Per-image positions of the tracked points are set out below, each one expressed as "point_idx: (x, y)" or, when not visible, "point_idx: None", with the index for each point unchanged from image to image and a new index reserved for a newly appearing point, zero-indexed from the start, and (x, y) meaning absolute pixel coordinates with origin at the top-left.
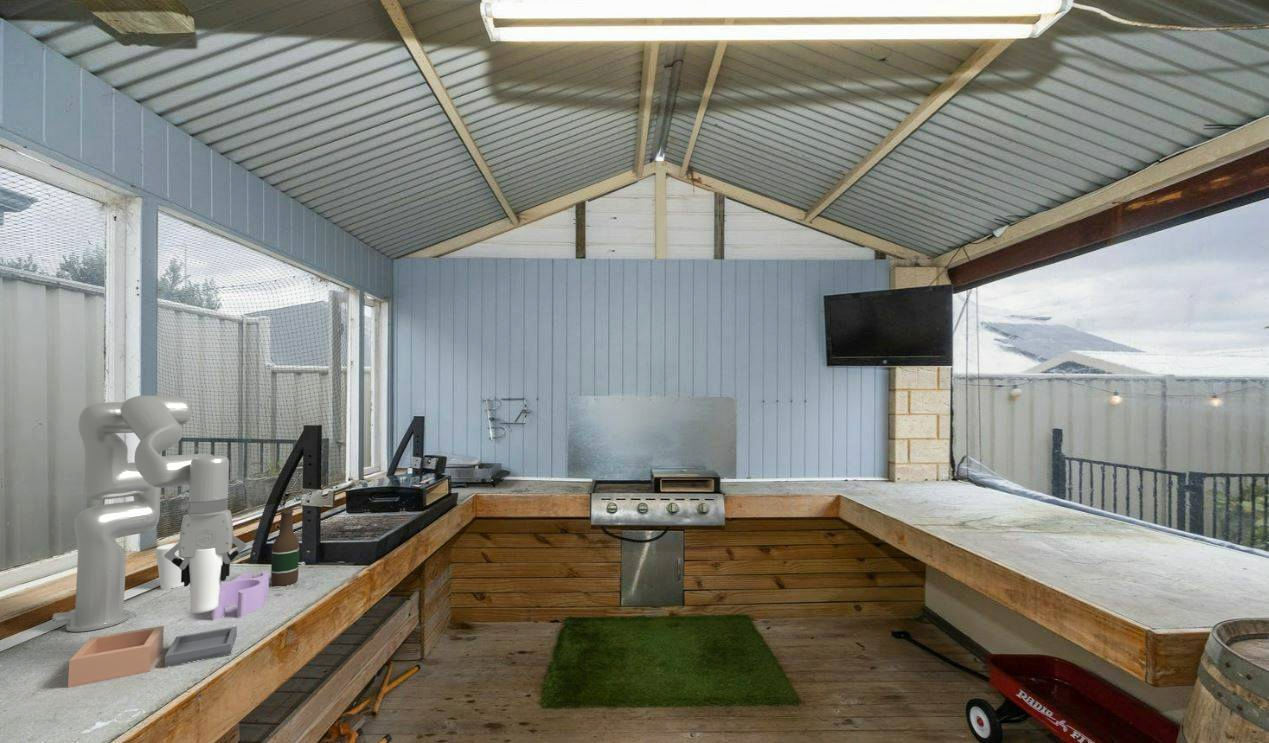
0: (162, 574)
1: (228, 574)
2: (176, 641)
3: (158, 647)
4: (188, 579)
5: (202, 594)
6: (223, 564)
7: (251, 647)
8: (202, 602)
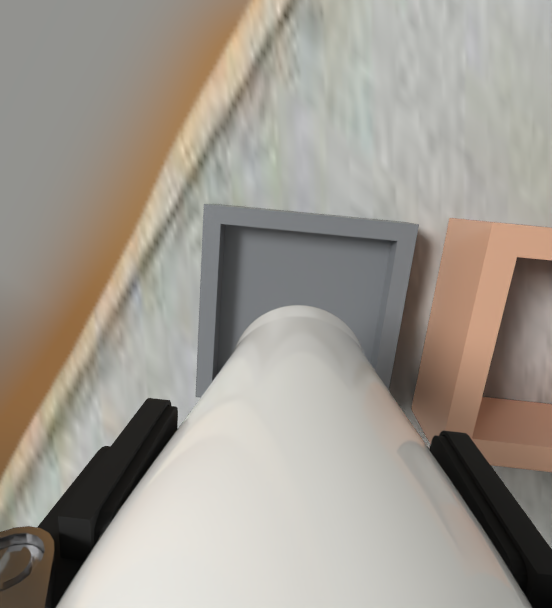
0: None
1: (102, 450)
2: (382, 366)
3: (435, 354)
4: None
5: (314, 334)
6: (82, 536)
7: (151, 235)
8: (310, 318)
